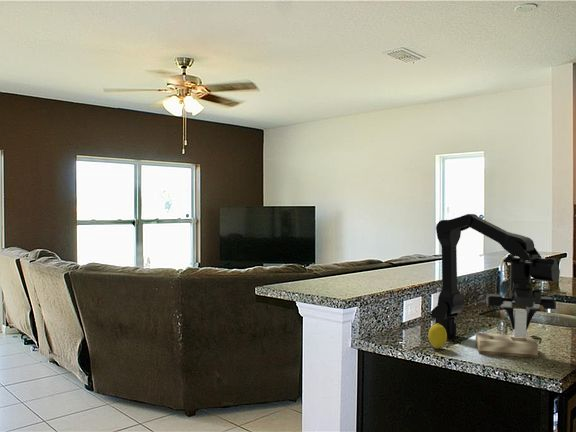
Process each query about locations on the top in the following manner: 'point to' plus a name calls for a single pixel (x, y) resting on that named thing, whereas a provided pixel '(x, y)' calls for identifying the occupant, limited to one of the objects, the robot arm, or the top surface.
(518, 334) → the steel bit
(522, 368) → the top surface
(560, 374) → the top surface
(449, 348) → the top surface
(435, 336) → the lemon
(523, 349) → the socket block
